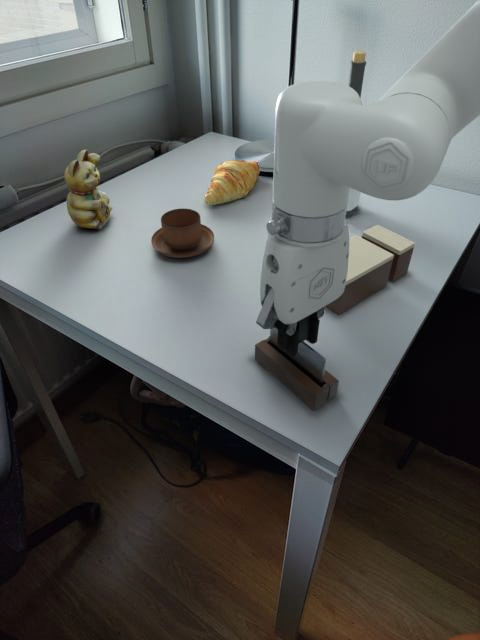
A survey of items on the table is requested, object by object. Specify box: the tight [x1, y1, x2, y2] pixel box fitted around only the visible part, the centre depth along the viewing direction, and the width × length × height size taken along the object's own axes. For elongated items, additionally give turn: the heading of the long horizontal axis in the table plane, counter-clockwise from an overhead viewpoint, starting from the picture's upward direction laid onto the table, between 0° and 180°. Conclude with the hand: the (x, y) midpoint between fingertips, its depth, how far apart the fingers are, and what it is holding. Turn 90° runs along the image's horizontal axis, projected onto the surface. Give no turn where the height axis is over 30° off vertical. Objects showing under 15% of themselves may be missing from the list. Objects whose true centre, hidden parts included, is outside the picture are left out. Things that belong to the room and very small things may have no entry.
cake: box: [325, 234, 394, 316], centre depth 77 cm, size 8×12×6 cm, turn 128°
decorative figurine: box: [63, 149, 113, 231], centre depth 92 cm, size 10×8×15 cm
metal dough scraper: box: [269, 315, 327, 387], centre depth 60 cm, size 10×2×12 cm, turn 38°
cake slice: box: [361, 224, 416, 283], centre depth 81 cm, size 8×4×6 cm, turn 38°
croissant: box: [204, 159, 261, 206], centre depth 105 cm, size 21×10×8 cm, turn 148°
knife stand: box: [254, 335, 340, 412], centre depth 63 cm, size 12×4×3 cm, turn 38°
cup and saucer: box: [150, 208, 215, 259], centre depth 88 cm, size 12×12×6 cm
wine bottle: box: [346, 50, 367, 218], centre depth 90 cm, size 8×8×30 cm
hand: (296, 342), depth 60 cm, fingers closed
